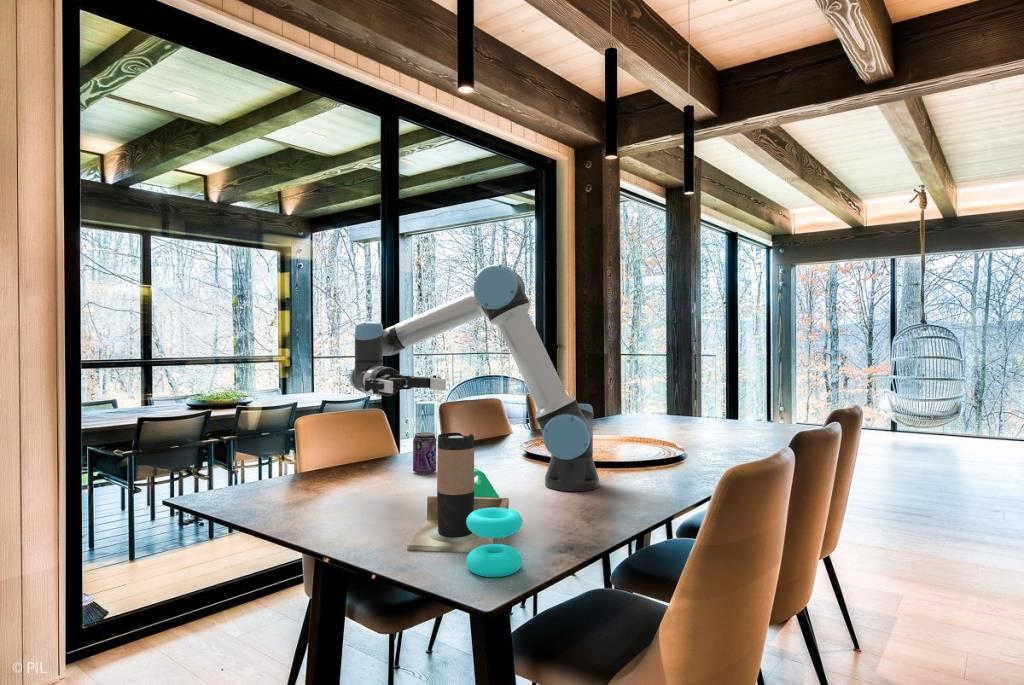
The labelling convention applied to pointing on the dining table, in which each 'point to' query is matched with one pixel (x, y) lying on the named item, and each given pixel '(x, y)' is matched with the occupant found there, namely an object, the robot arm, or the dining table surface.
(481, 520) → the donuts
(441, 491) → the travel mug
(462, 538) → the corner tray
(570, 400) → the robot arm
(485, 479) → the camera mount
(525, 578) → the dining table surface
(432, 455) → the beverage can
